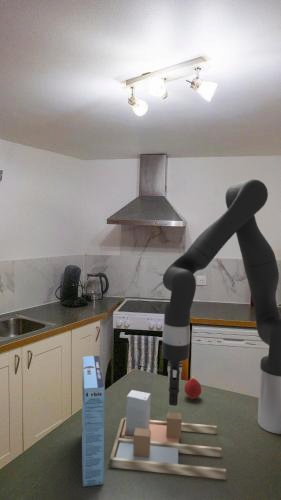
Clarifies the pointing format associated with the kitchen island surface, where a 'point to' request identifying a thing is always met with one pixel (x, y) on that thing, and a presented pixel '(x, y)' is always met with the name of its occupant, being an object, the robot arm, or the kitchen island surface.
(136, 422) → the skincare box
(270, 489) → the kitchen island surface
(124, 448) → the strip empty
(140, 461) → the lane rails
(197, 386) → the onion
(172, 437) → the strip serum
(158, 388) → the kitchen island surface
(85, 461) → the light blue flat box
